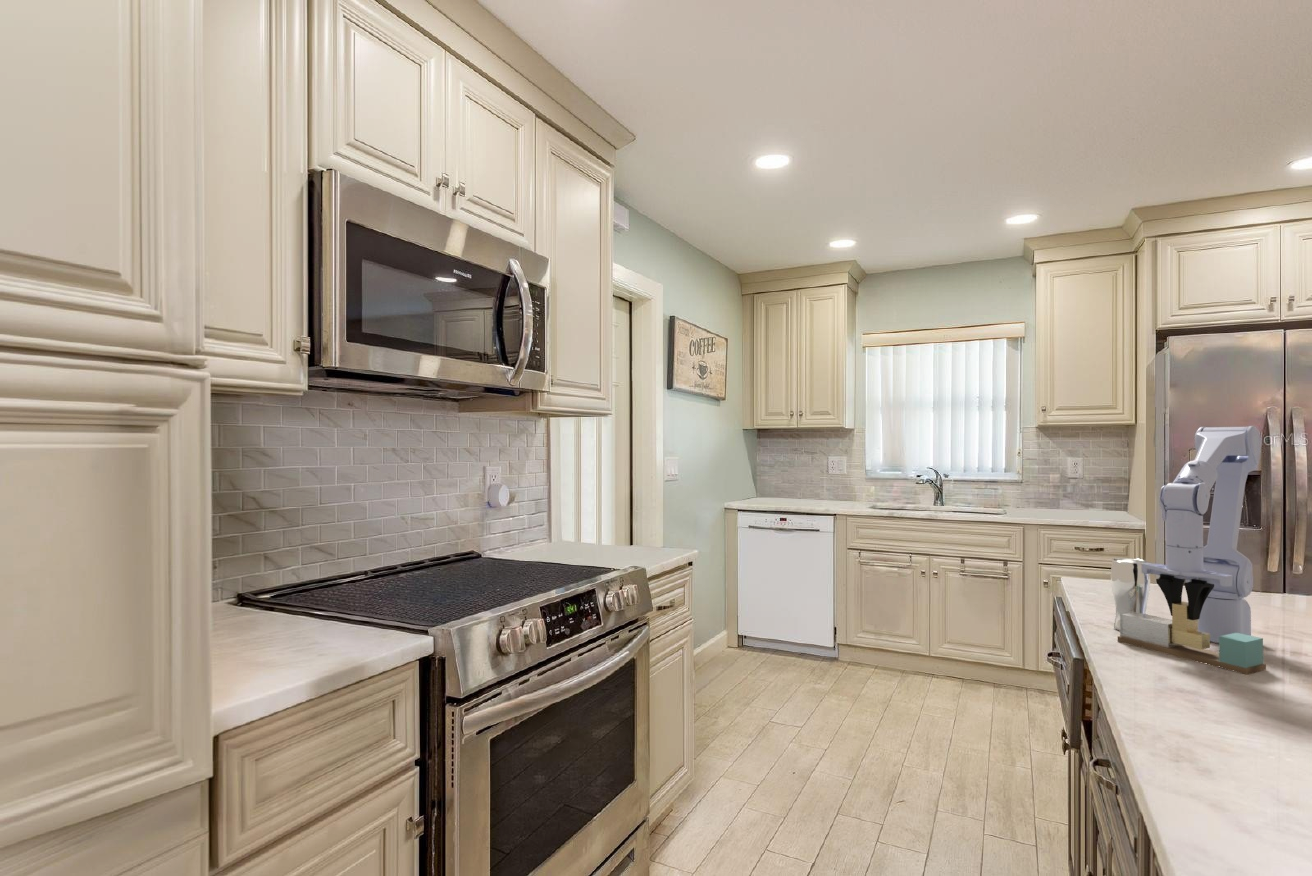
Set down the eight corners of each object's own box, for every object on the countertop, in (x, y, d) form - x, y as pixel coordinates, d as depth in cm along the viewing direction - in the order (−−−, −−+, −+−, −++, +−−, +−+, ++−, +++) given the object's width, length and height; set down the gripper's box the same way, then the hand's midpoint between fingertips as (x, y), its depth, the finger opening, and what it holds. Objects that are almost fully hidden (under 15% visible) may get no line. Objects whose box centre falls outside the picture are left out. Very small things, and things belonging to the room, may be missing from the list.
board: (1135, 637, 142) (1135, 632, 142) (1265, 669, 122) (1265, 663, 122) (1117, 641, 140) (1117, 636, 140) (1247, 674, 120) (1247, 668, 120)
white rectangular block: (1133, 633, 142) (1133, 611, 142) (1181, 645, 134) (1181, 621, 134) (1120, 636, 140) (1119, 613, 140) (1168, 648, 132) (1168, 624, 132)
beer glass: (1157, 635, 144) (1156, 563, 144) (1120, 633, 145) (1119, 562, 145) (1140, 626, 151) (1140, 558, 151) (1105, 625, 152) (1105, 557, 152)
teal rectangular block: (1236, 657, 126) (1236, 632, 126) (1263, 663, 122) (1262, 638, 122) (1219, 661, 124) (1218, 636, 124) (1245, 668, 120) (1245, 642, 120)
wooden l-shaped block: (1137, 630, 141) (1136, 592, 141) (1211, 647, 129) (1210, 606, 129) (1126, 632, 139) (1126, 594, 139) (1200, 649, 127) (1200, 608, 127)
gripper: (1131, 542, 136) (1132, 611, 136) (1216, 553, 123) (1217, 629, 123) (1153, 540, 139) (1153, 607, 139) (1238, 550, 126) (1239, 624, 126)
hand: (1184, 617), depth 131 cm, fingers closed on wooden l-shaped block, 2 cm apart
